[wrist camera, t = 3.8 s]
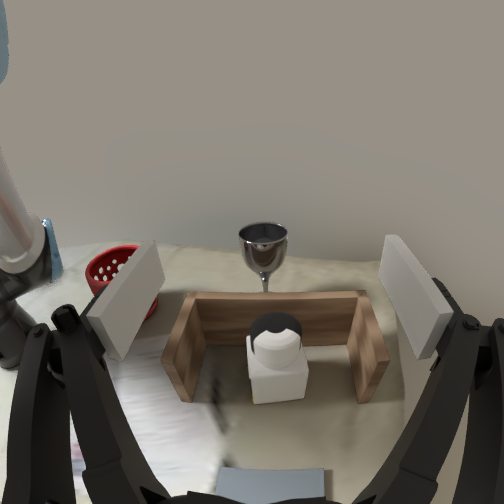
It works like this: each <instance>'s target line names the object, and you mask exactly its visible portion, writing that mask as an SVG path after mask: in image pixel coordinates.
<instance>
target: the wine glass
mask: <svg viewBox="0 0 504 504" xmlns="http://www.w3.org/2000/svg"><path fill="white" fill-rule="evenodd" d="M239 243H240V249H241V253H242V257H243V259H244V262H245V263H246V265H247V266H248V267H249V268H250V269H251V270H252V271H253V272H255V273H256V274H257V275H258V276H259V277H260V278H261V280H262V284H263V290H264V292H259V293H275V292H269V291H268V282H269V278H270V276H271V275H272V274H273V273H274V272H275V271H276V270H278V269H279V268H280V266H281V265H282V264H283V262H284V259H285V256H286V251H287V243H288V232H287V229H286V227H284V226H283V225H281V224H278V223H274V222H256V223H252V224H249V225H246V226H244V227H243V228H241V229H240V231H239Z"/></svg>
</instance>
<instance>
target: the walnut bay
mask: <svg viewBox="0 0 504 504" xmlns="http://www.w3.org/2000/svg"><path fill="white" fill-rule="evenodd" d="M270 312H283V313H287V314H289V315H291V316H293V317H294V318H296V319H297V320H298V321H299V322H300V324H301V326H302V339H301V342H302V346H322V345H341V344H347V347H348V352H349V357H350V362H351V367H352V372H353V377H354V383H355V388H356V394H357V400H358V404H360V403H368V402H369V400H370V398H371V397H372V395H373V393H374V391H375V389H376V387H377V386H378V384H379V382H380V380H381V378H382V376H383V374H384V372H385V370H386V368H387V366H388V364H389V362H390V358H389V355H388V352H387V348H386V345H385V342H384V339H383V337H382V334H381V331H380V328H379V325H378V322H377V320H376V317H375V314H374V311H373V309H372V306H371V303H370V301H369V298H368V296H367V293H366V291H365V290H360V291H333V292H286V293H230V292H188V293H187V296H186V298H185V300H184V303H183V305H182V307H181V310H180V312H179V315H178V317H177V319H176V322H175V324H174V327H173V329H172V332H171V334H170V337H169V339H168V342H167V344H166V347H165V349H164V352H163V354H162V357H161V359H160V360H161V362H162V364H163V366H164V368H165V370H166V372H167V374H168V376H169V378H170V380H171V382H172V384H173V386H174V388H175V390H176V392H177V394H178V395H179V397H180V399H181V401H183V402H190V403H192V400H193V396H194V392H195V388H196V384H197V380H198V376H199V372H200V368H201V365H202V361H203V357H204V353H205V349H206V346H207V344H209V345H228V346H247V343H246V338H247V336H250V332H249V331H250V326H251V324H252V323H253V321H254V320H256V319H257V318H258V317H260V316H261V315H263V314H266V313H270Z"/></svg>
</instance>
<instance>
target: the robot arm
mask: <svg viewBox="0 0 504 504" xmlns="http://www.w3.org/2000/svg"><path fill="white" fill-rule="evenodd" d="M7 45H8V31H7V22H6V14H5V9H4V4H3V0H0V83H1V82H2V81H3V80H4V79H5V76H6V74H7V69H8V59H9V58H8V56H9V54H8V46H7ZM63 271H64V269H63V265H62V261H61V258H60V255H59V251H58V247H57V243H56V239H55V235H54V231H53V227H52V223H51V220H50V219H45V220H44V219H42V220H40V219H39V218H38V217H37V216H36V215H35V214H33V213H30V212H27V210H26V208H25V206H24V204H23V202H22V200H21V198H20V196H19V194H18V191H17V189H16V187H15V185H14V182H13V180H12V178H11V175H10V173H9V170H8V168H7V165H6V162H5V160H4V157H3V154H2V151H1V148H0V366H1V367H3V368H12V367H15V366H17V365H19V364H20V366H19V370H18V375H17V379H16V384H15V389H14V394H13V400H12V406H11V413H10V421H9V430H8V442H7V479H6V484H5V488H4V493H3V498H2V503H1V504H76V496H75V488H74V481H73V472H72V461H71V446H70V412H71V416H72V420H73V424H74V428H75V432H76V435H77V439H78V442H79V446H80V449H81V452H82V455H83V458H84V461H85V464H86V470H84V471H83V472H82V478H83V482H84V484H85V487H86V489H87V492H88V494H89V497H90V499H91V501H92V504H245V503H242V502H238V501H235V500H232V499H229V498H226V497H223V496H219V495H211V494H204V493H198V492H192V491H188V492H187V495H181V496H175V497H171V496H170V495H169V493H168V492H167V490H166V489H165V488H164V487H163V485H162V484H161V483H160V482H159V481H158V480H157V479H156V477H155V476H154V474H153V472H152V470H151V469H150V467H149V465H148V463H147V461H146V459H145V457H144V455H143V454H142V452H141V450H140V448H139V446H138V443H137V441H136V439H135V437H134V435H133V433H132V431H131V428H130V426H129V424H128V422H127V419H126V417H125V415H124V412H123V410H122V407H121V405H120V402H119V400H118V397H117V394H116V392H115V389H114V386H113V383H112V380H111V378H110V375H109V372H108V369H107V365H106V362H105V360H104V358H103V357H102V356H103V354H104V352H105V351H106V352H107V354H108V356H109V357H110V359H115V360H120V361H124V358H125V356H126V354H127V352H128V350H129V348H130V346H131V344H132V342H133V340H134V338H135V336H136V334H137V332H138V330H139V328H140V326H141V324H142V322H143V320H144V318H145V317H146V315H147V313H148V311H149V309H150V307H151V305H152V303H153V301H154V300H155V298H156V296H157V294H158V292H159V290H160V288H161V287H162V285H163V283H164V281H165V276H164V273H163V269H162V265H161V262H160V258H159V254H158V250H157V246H156V242H155V240H154V241H143V243H142V244H141V245H140V246H139V247H138V248H137V250H136V251H135V252H134V253H133V255H132V256H131V257H130V258H129V259H128V261H127V262H126V263H125V264H124V266H123V267H122V268H121V269H120V271H119V272H118V273H117V274H116V276H115V277H114V278H113V280H112V281H111V282H110V283H109V284H106V285H105V286H103V287H102V288H101V289H100V290H99V291H98V292H97V293H96V295H95V297H93V299H92V300H91V302H90V303H89V304H88V305H87V307H86V308H85V309H84V311H83V312H82V313H81V315H80V316H79V315H78V313H77V311H76V309H75V307H74V306H73V305H71V304H66V305H62V306H61V307H59V308H57V309H56V310H55V311H54V312H53V314H52V316H51V320H52V321H53V323H54V325H55V326H56V328H57V330H54V331H50V329H49V327H48V326H47V324H45V323H40V324H37V323H36V321H35V320H34V319H33V318H32V317H31V316H30V315H29V314H28V313H27V312H26V311H25V310H24V309H23V308H22V307H21V306H20V305H19V304H18V303H17V302H16V300H15V299H16V298H17V297H20V296H22V295H24V294H26V293H28V292H30V291H32V290H34V289H36V288H38V287H41V286H43V285H45V284H47V283H52V282H53V280H55V279H57V278H59V277H61V276H62V274H63ZM378 277H379V278H380V280H381V282H382V284H383V286H384V288H385V290H386V292H387V294H388V296H389V298H390V300H391V303H392V305H393V307H394V309H395V311H396V313H397V315H398V317H399V319H400V322H401V324H402V326H403V328H404V331H405V333H406V335H407V338H408V340H409V342H410V345H411V347H412V349H413V352H414V354H415V357H416V359H417V360H421V359H426V358H431V356H432V354H433V352H434V351H435V349H436V350H437V352H438V357H437V358H436V360H435V362H434V364H433V365H432V367H431V369H430V371H431V374H430V376H429V378H428V381H427V383H426V386H425V388H424V390H423V393H422V395H421V397H420V399H419V401H418V403H417V406H416V408H415V410H414V412H413V414H412V416H411V418H410V419H409V421H408V424H407V425H406V427H405V429H404V431H403V433H402V434H401V436H400V438H399V440H398V441H397V443H396V445H395V446H394V448H393V450H392V451H391V453H390V455H389V456H388V458H387V459H386V461H385V462H384V464H383V465H382V467H381V468H380V470H379V471H378V473H377V474H376V476H375V477H374V478H373V480H372V481H371V482H370V484H369V485H368V486H367V487H366V488H365V489H364V490H363V491H362V492H361V493H360V494H359V495H358V497H357V498H356V499H355V500H354V501H353V502H352V504H430V502H431V501H432V498H433V497H434V495H435V493H436V491H437V488H438V483H437V482H436V478H437V476H438V473H439V471H440V469H441V467H442V465H443V463H444V461H445V459H446V456H447V454H448V452H449V449H450V447H451V445H452V442H453V440H454V437H455V435H456V432H457V429H458V426H459V423H460V421H461V417H462V415H463V412H464V408H465V405H466V402H467V398H468V395H469V394H470V395H469V413H468V424H467V433H466V441H465V447H464V454H463V459H462V465H461V470H460V474H459V479H458V483H457V486H456V490H455V494H454V497H453V501H452V504H504V319H502V318H498V319H496V320H495V321H494V323H493V325H492V326H491V327H490V326H482V325H481V324H480V322H479V321H478V320H477V319H476V318H475V317H473V316H472V315H468V314H464V313H463V312H462V310H461V309H460V307H459V306H458V305H457V303H456V301H455V300H454V298H453V297H451V294H450V293H449V292H448V290H447V289H446V287H445V286H444V285H443V283H442V282H440V281H439V280H438V279H436V278H430V276H429V275H428V273H427V272H426V271H425V269H424V268H423V267H422V265H421V264H420V263H419V262H418V260H417V259H416V257H415V256H414V255H413V254H412V252H411V251H410V250H409V248H408V247H407V246H406V245H405V243H404V242H403V241H402V240H401V239H400V237H399V236H398V235H386V236H385V243H384V248H383V254H382V259H381V264H380V269H379V274H378ZM47 366H48V368H47ZM469 391H470V392H469ZM270 504H341V503H338V502H334V501H329V500H326V496H323V497H312V498H296V499H288V500H284V501H279V502H275V503H270Z"/></svg>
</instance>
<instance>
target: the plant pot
mask: <svg viewBox="0 0 504 504" xmlns="http://www.w3.org/2000/svg"><path fill="white" fill-rule="evenodd" d="M138 247H139V246H137V245H123V246H117V247H114V248H111V249H109V250H106V251H104V252H103V253H101V254H99V255H98V256H96V257H95V258H94V259H93V260H92V261H91V262H90V263H89V264H88V266H87V268H86V271H85V276H86V279H87V282H88V284H89V286H90V289H91V291H92V293H93V294H94V296H95V295H96V293H97V292H98V291H99V290H100V289H101V288H102V287H103V286H105V285H106V284H109V283H110V282H111V281H112V280H113V278H114V277H113V276H112V274H113V273H116V274H117V273H118V272H119V271H118V269H117V267H118V265H119V264H125V263H126V262H127V261H128V257H129V256H132V255H133V253H134V252H135V251H136V250H137V248H138ZM113 260H116V261H117V262H116V263H115V264H113V263H112V261H113ZM108 266H110V267H111V268H110V270H107V267H108ZM101 267H102V269H103V272H102V273H101V274H100V273H99V269H100V268H101ZM95 275H96V276H97V277H98V279H99V281H97V280H95V279H94V277H95ZM104 275H106V276H107V280H106V281H104V280H103V276H104ZM157 302H158V299H157V296H156V298H155V300H154V301H153V303H152V305H151V307H150V309H149V311H148V313H147V315H146V317H145V318H144V320H145V319H146V318H148V317H149V316H150V315H151V314H152V313H153V312H154V310H155V308H156V306H157Z"/></svg>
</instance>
